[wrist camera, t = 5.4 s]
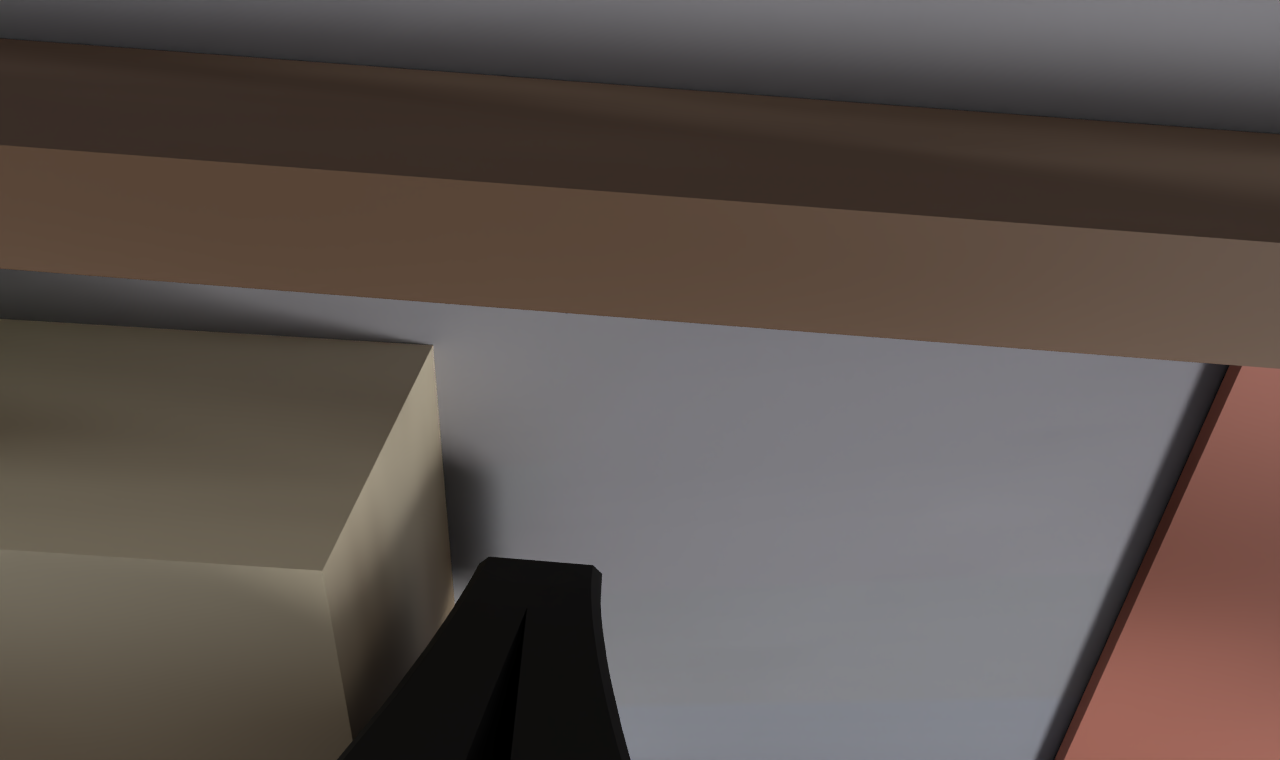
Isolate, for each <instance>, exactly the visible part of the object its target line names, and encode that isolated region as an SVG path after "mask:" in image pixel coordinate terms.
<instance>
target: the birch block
mask: <svg viewBox="0 0 1280 760" xmlns="http://www.w3.org/2000/svg"><path fill="white" fill-rule="evenodd" d="M454 605H455V603H454V591H453V579H452V567H451V555H450V543H449V531H448V520H447V508H446V496H445V484H444V472H443V460H442V448H441V436H440V424H439V412H438V400H437V388H436V376H435V364H434V352H433V345H421V344H405V343H388V342H372V341H355V340H339V339H323V338H306V337H290V336H274V335H257V334H241V333H225V332H208V331H192V330H176V329H159V328H143V327H127V326H110V325H94V324H78V323H61V322H45V321H29V320H12V319H0V760H337V759H338V758H339V756H340V755H341V754H342V753H343V752H344V751H345V749H346V748H347V747H348V746H349V745H350V743H351V742H352V741H353V740H354V739H355V737H356V736H357V735H358V734H359V733H360V731H361V730H362V729H363V728H364V727H365V725H366V724H367V723H368V722H369V721H370V719H371V718H372V717H373V716H374V715H375V713H376V712H377V711H378V710H379V709H380V707H381V706H382V705H383V704H384V702H385V701H386V700H387V699H388V697H389V696H390V695H391V694H392V692H393V691H394V690H395V688H396V687H397V686H398V684H399V683H400V682H401V680H402V679H403V677H404V676H405V675H406V673H407V672H408V671H409V669H410V668H411V667H412V665H413V664H414V663H415V661H416V660H417V659H418V657H419V656H420V655H421V653H422V652H423V651H424V649H425V648H426V647H427V645H428V644H429V642H430V641H431V639H432V638H433V637H434V635H435V634H436V632H437V631H438V629H439V628H440V626H441V625H442V623H443V622H444V621H445V619H446V618H447V616H448V615H449V613H450V612H451V610H452V609H453V607H454Z"/></svg>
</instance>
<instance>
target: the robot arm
mask: <svg viewBox="0 0 1280 760" xmlns="http://www.w3.org/2000/svg"><path fill="white" fill-rule="evenodd" d="M601 583H602V573H601V572H599V571H598V570H597V569H596V568H595V567H594V566H593V565H583V564H571V563H559V562H547V561H535V560H522V559H510V558H498V557H488V558H486V559H485V560H484V561H482V562H481V563H479V565H478V567H477V569H476V571H475V572H474V574H473V576H472V578H471V579H470V581H469V583H468V584H467V586H466V588H465V589H464V591H463V593H462V594H461V596H460V598H459V599H458V601H457V602H456V604H455V605H454V607H453V609H452V610H451V612H450V613H449V615H448V616H447V618H446V619H445V621H444V622H443V623H442V625H441V626H440V628H439V629H438V631H437V632H436V634H435V635H434V637H433V638H432V639H431V641H430V642H429V644H428V645H427V647H426V648H425V649H424V651H423V652H422V653H421V655H420V656H419V657H418V659H417V660H416V661H415V663H414V664H413V665H412V667H411V668H410V669H409V671H408V672H407V673H406V675H405V676H404V677H403V679H402V680H401V682H400V683H399V684H398V686H397V687H396V688H395V690H394V691H393V692H392V694H391V695H390V696H389V697H388V699H387V700H386V701H385V702H384V704H383V705H382V706H381V707H380V709H379V710H378V711H377V712H376V713H375V715H374V716H373V717H372V718H371V719H370V721H369V722H368V723H367V724H366V725H365V727H364V728H363V729H362V730H361V731H360V733H359V734H358V735H357V736H356V737H355V739H354V740H353V741H352V742H351V743H350V745H349V746H348V747H347V748H346V749H345V751H344V752H343V753H342V754H341V755H340V756H339V758H338V759H337V760H630V756H629V753H628V749H627V745H626V742H625V738H624V734H623V731H622V727H621V722H620V718H619V714H618V709H617V705H616V701H615V696H614V692H613V688H612V684H611V679H610V674H609V668H608V663H607V657H606V650H605V643H604V637H603V629H602V619H601V603H600V602H601Z"/></svg>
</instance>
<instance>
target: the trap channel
mask: <svg viewBox="0 0 1280 760" xmlns="http://www.w3.org/2000/svg"><path fill="white" fill-rule="evenodd" d="M0 269H13V270H25V271H38V272H51V273H64V274H76V275H89V276H102V277H115V278H127V279H140V280H153V281H166V282H178V283H191V284H204V285H217V286H229V287H242V288H255V289H268V290H280V291H293V292H306V293H319V294H331V295H344V296H357V297H370V298H382V299H395V300H408V301H421V302H433V303H446V304H459V305H472V306H485V307H497V308H510V309H523V310H536V311H548V312H561V313H574V314H587V315H599V316H612V317H625V318H638V319H650V320H663V321H676V322H689V323H701V324H714V325H727V326H740V327H752V328H765V329H778V330H791V331H803V332H816V333H829V334H842V335H854V336H867V337H880V338H893V339H905V340H918V341H931V342H944V343H956V344H969V345H982V346H995V347H1007V348H1020V349H1033V350H1046V351H1058V352H1071V353H1084V354H1097V355H1109V356H1122V357H1135V358H1148V359H1161V360H1173V361H1186V362H1199V363H1212V364H1224V365H1229V368H1228V370H1227V372H1226V374H1225V377H1224V379H1223V381H1222V383H1221V386H1220V388H1219V390H1218V392H1217V395H1216V397H1215V399H1214V402H1213V404H1212V406H1211V408H1210V411H1209V413H1208V415H1207V417H1206V420H1205V422H1204V424H1203V426H1202V429H1201V431H1200V433H1199V435H1198V438H1197V440H1196V442H1195V444H1194V447H1193V449H1192V451H1191V453H1190V456H1189V458H1188V460H1187V462H1186V465H1185V467H1184V469H1183V471H1182V474H1181V476H1180V478H1179V480H1178V483H1177V485H1176V487H1175V489H1174V492H1173V494H1172V496H1171V498H1170V501H1169V503H1168V505H1167V507H1166V510H1165V512H1164V514H1163V516H1162V519H1161V521H1160V523H1159V525H1158V528H1157V530H1156V532H1155V534H1154V537H1153V539H1152V541H1151V543H1150V546H1149V548H1148V550H1147V552H1146V555H1145V557H1144V559H1143V561H1142V564H1141V566H1140V568H1139V570H1138V573H1137V575H1136V577H1135V579H1134V582H1133V584H1132V586H1131V588H1130V591H1129V593H1128V595H1127V597H1126V600H1125V602H1124V604H1123V606H1122V609H1121V611H1120V613H1119V615H1118V618H1117V620H1116V622H1115V625H1114V627H1113V629H1112V631H1111V634H1110V636H1109V638H1108V640H1107V643H1106V645H1105V647H1104V649H1103V652H1102V654H1101V656H1100V658H1099V661H1098V663H1097V665H1096V667H1095V670H1094V672H1093V674H1092V676H1091V679H1090V681H1089V683H1088V685H1087V688H1086V690H1085V692H1084V694H1083V697H1082V699H1081V701H1080V703H1079V706H1078V708H1077V710H1076V712H1075V715H1074V717H1073V719H1072V721H1071V724H1070V726H1069V728H1068V730H1067V733H1066V735H1065V737H1064V739H1063V742H1062V744H1061V746H1060V748H1059V751H1058V753H1057V755H1056V757H1055V760H1280V134H1269V133H1256V132H1242V131H1229V130H1216V129H1202V128H1189V127H1176V126H1162V125H1149V124H1136V123H1122V122H1109V121H1096V120H1082V119H1069V118H1056V117H1042V116H1029V115H1016V114H1002V113H989V112H975V111H962V110H949V109H935V108H922V107H909V106H895V105H882V104H869V103H855V102H842V101H829V100H815V99H802V98H789V97H775V96H762V95H749V94H735V93H722V92H709V91H695V90H682V89H668V88H655V87H642V86H628V85H615V84H602V83H588V82H575V81H562V80H548V79H535V78H522V77H508V76H495V75H482V74H468V73H455V72H442V71H428V70H415V69H401V68H388V67H375V66H361V65H348V64H335V63H321V62H308V61H295V60H281V59H268V58H255V57H241V56H228V55H215V54H201V53H188V52H175V51H161V50H148V49H134V48H121V47H108V46H94V45H81V44H68V43H54V42H41V41H28V40H14V39H1V38H0Z"/></svg>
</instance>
